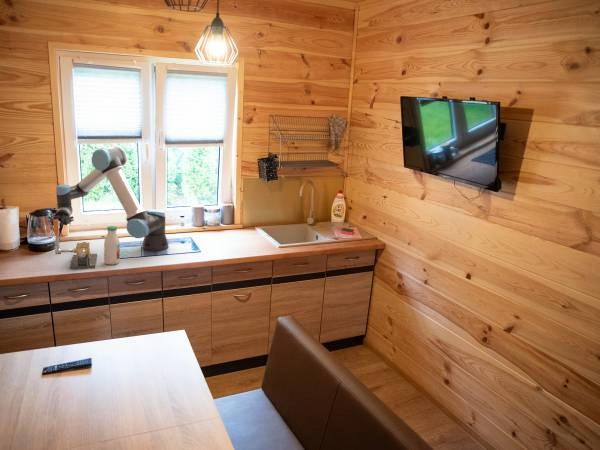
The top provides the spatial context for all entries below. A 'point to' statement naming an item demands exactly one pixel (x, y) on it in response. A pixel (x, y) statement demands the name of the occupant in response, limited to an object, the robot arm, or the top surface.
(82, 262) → the valve stand
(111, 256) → the milk bottle
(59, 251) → the valve lever
